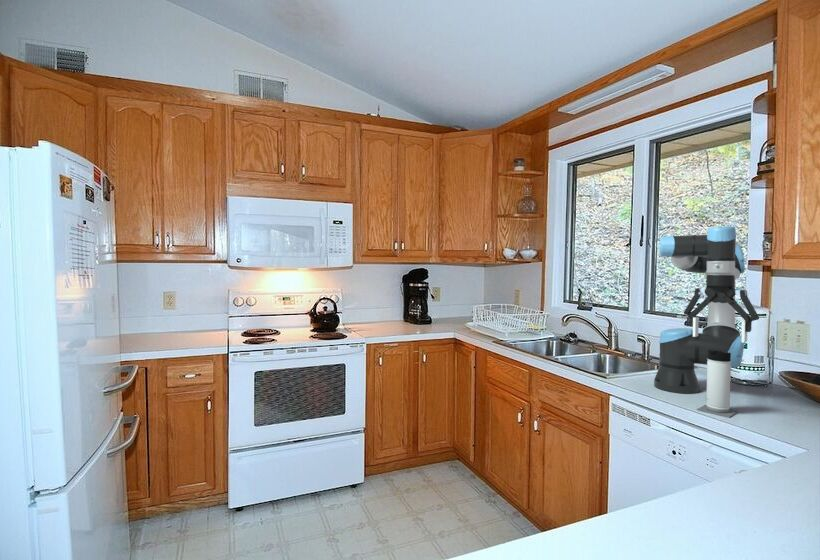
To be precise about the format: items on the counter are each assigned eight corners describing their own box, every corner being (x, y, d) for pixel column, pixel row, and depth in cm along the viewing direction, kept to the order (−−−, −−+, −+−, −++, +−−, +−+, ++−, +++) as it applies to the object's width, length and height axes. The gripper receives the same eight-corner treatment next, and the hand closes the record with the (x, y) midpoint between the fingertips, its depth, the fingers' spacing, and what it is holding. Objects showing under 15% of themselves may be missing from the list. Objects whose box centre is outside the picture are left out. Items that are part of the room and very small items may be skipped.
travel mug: (700, 408, 144) (702, 348, 143) (714, 405, 146) (716, 347, 146) (720, 414, 138) (721, 352, 137) (734, 411, 141) (735, 350, 140)
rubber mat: (706, 405, 148) (706, 404, 148) (737, 412, 141) (737, 411, 141) (697, 410, 143) (697, 409, 143) (729, 417, 136) (729, 416, 136)
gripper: (673, 273, 148) (672, 335, 149) (765, 275, 129) (763, 346, 129) (682, 273, 153) (681, 332, 154) (772, 274, 133) (770, 343, 134)
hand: (718, 339), depth 142 cm, fingers open, 13 cm apart
